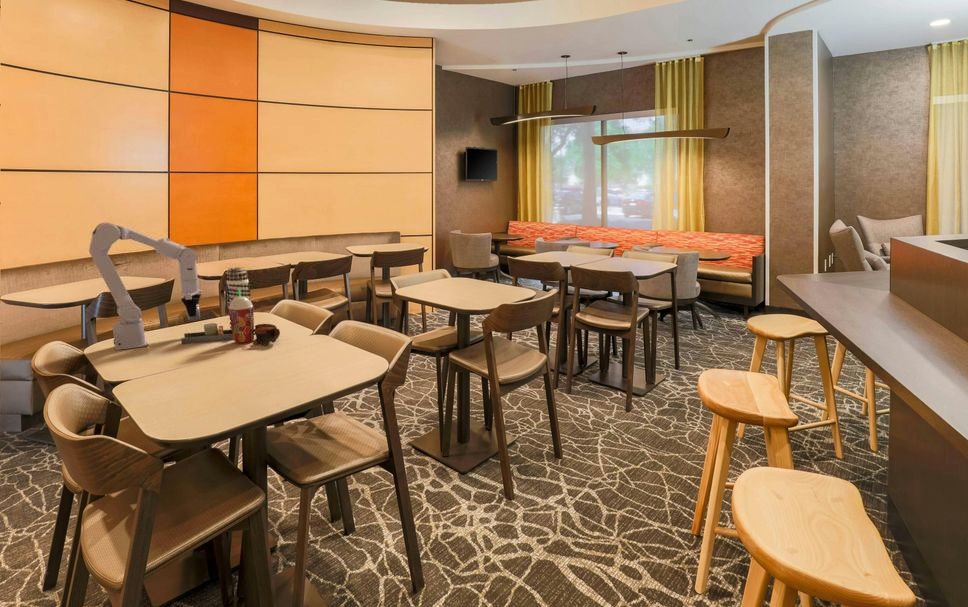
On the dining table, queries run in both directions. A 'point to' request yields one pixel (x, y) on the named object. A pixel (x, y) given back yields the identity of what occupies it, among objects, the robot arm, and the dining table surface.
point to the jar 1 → (196, 314)
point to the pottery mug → (265, 334)
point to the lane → (206, 337)
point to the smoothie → (242, 319)
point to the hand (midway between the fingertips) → (193, 314)
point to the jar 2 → (211, 329)
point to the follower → (220, 330)
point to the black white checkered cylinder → (237, 284)
